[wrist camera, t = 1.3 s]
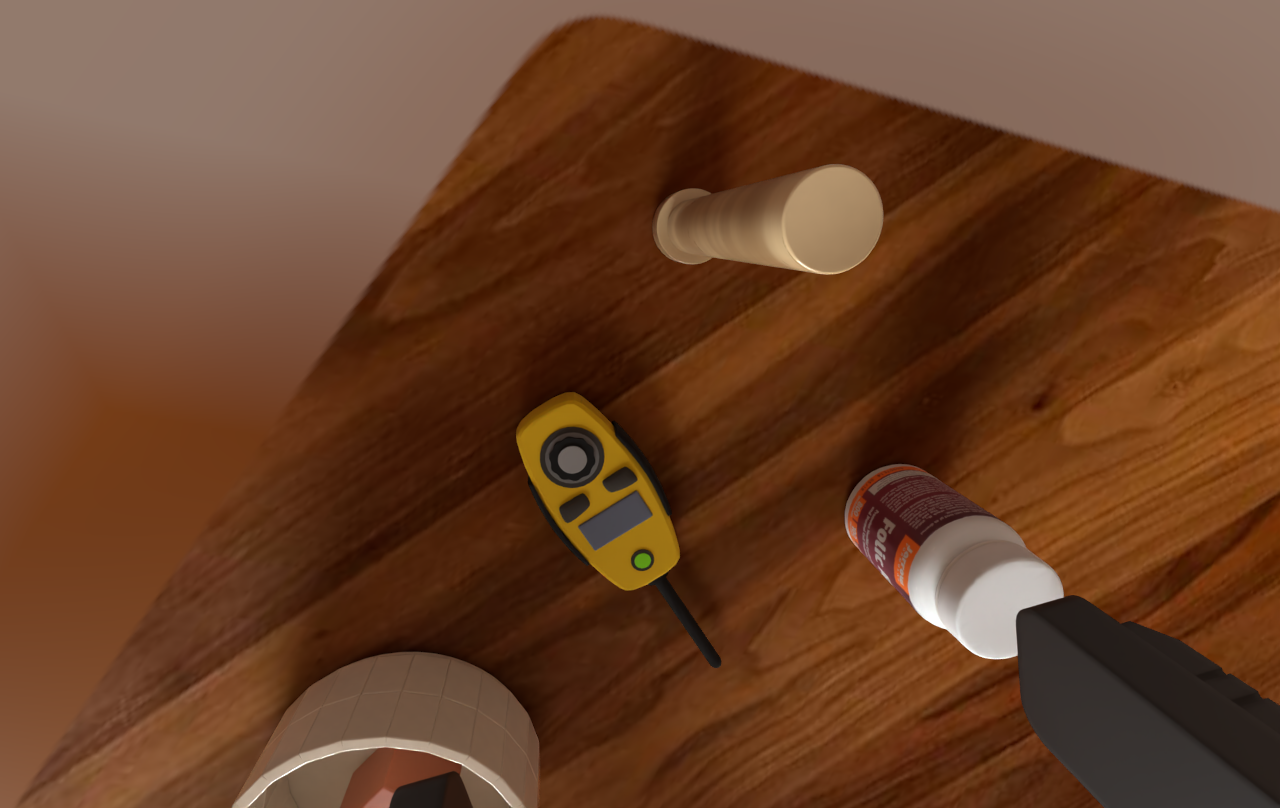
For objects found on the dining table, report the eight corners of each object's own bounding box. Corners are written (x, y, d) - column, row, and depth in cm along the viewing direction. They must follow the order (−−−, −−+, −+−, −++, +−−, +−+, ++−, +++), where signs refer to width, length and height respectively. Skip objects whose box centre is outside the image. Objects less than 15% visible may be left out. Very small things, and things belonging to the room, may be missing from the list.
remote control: (593, 381, 25) (770, 655, 29) (591, 371, 27) (758, 630, 31) (488, 446, 25) (679, 710, 29) (492, 432, 27) (672, 681, 31)
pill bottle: (828, 486, 29) (930, 582, 21) (924, 445, 30) (1061, 525, 21) (857, 571, 31) (964, 690, 23) (948, 531, 31) (1087, 637, 23)
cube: (352, 772, 29) (325, 841, 26) (403, 721, 29) (383, 785, 26) (413, 810, 30) (395, 881, 27) (463, 761, 30) (451, 828, 27)
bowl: (218, 775, 29) (143, 894, 24) (393, 596, 28) (356, 680, 23) (426, 895, 33) (401, 1024, 27) (591, 739, 31) (599, 842, 26)
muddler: (637, 226, 25) (730, 220, 12) (687, 174, 25) (842, 105, 12) (685, 277, 26) (825, 325, 13) (735, 227, 26) (932, 220, 12)
